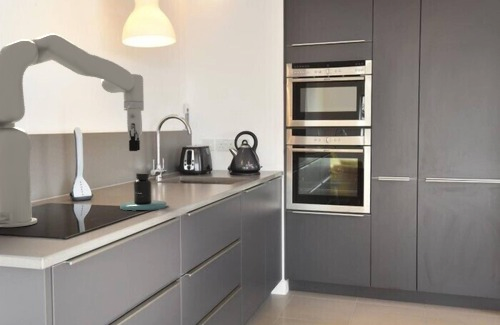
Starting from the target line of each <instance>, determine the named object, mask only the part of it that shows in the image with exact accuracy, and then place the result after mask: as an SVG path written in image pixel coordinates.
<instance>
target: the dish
mask: <svg viewBox="0 0 500 325" xmlns="http://www.w3.org/2000/svg"><path fill="white" fill-rule="evenodd" d="M167 207H168V204H167V201H164V200H153V199H152V202H151V203H150V204H142V205H141V204H135V203H134V200H132V201H126V202H121V203H120V204H119V208H120V210H121V209H122V210H121V211H127V210H132V211H131V212H137V211H136V210H149V211H156V210H157V211H158V210H163V209H165V208H167Z"/></svg>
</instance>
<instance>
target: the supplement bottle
mask: <svg viewBox="0 0 500 325" xmlns="http://www.w3.org/2000/svg"><path fill="white" fill-rule="evenodd" d="M135 175H136V179H135V181H133V201H134V203H135V204H141V205H142V204H150V203H151V202H152V200H153V199H152V196H153V194H152V187H153V186H152V181H151V180H150V179H149V178H150V174H149V172H137V173H136V174H135Z"/></svg>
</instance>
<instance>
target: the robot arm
mask: <svg viewBox="0 0 500 325" xmlns="http://www.w3.org/2000/svg"><path fill="white" fill-rule="evenodd" d="M51 61H54V62H56V63H57V64H58V65H61V66H63V67H65V68H67V69H68V70H70V71H72V72H73V73H75V74H77V75H81V76H83V77H84V76H85V77H91V78H97V79H101V82H100V83H101V87H102V89H103V90H104V91H106V92H108V93H111V94H112V93H113V94H116V93H117V94H118V93H123V111H125V112H126V119H127V120H126V121H127V122H126V123H127V124H126V125H127V135H128V136H129V137H128V138H129V140H128V151H129V152H137V151H140V150H141V148H140V147H141V142H140V136H142V135H143V118H142V111H144V110H145V108H144V107H145V106H144V99H145V98H144V77H143V76H142V75H141V74H136V73H135V74H134V73H131V72H130V71H129V70H127V69H125V67H122V66H121V65H119V64H117V63H116V62H114V61H112V60H109V59H106V58H104V57H101V56H98V55H95V54H93V53H90V52H88V51H87V50H85V49H83V48H81V47H79V46H78V45H76V44H74V43H73V42H71V41H70V40H68V39H66V38H65V37H63V36H62V35H59V34H56V33H50V34H46V35H42V36H41V37H40V36H39V37H36V38H33V39H19V40H16V41H15V42H11V43H9V44H6V45H4V46H3V47H2V48H1V49H0V228H18V227H25V226H31V225H34V224H35V225H36V224H37V223H38V218H36V217H33V213H32V212H33V211H32V209H33V208H32V190H31V189H32V188H31V186H32V185H31V184H32V183H31V154H32V146H33V145H32V138H31V137H30V135H29V134H28V132H26V131H25V130H24V129H22V128H19V127H16V125H15V124H16V123H17V122H20V121H21V120H23V118H24V116H25V113H26V108H25V107H26V106H25V97H24V84H23V83H24V82H23V81H24V80H23V79H24V74H25V72H26V70H27V69H28V67H31V66H35V65H39V64H42V63H45V62H51Z"/></svg>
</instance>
